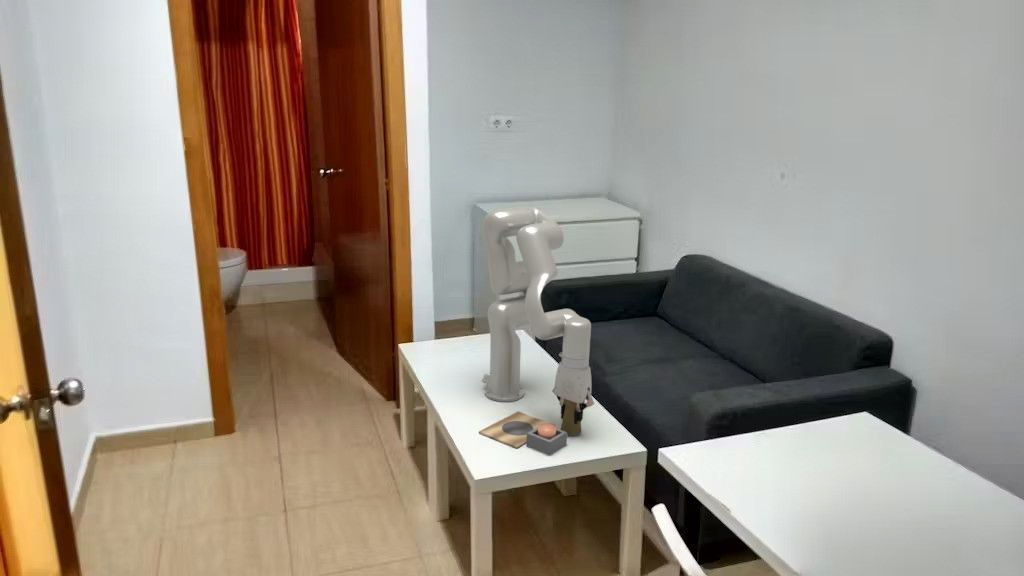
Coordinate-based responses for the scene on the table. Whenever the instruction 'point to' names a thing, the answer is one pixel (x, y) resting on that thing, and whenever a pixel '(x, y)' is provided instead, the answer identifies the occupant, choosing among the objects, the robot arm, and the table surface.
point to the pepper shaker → (570, 419)
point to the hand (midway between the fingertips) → (571, 419)
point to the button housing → (546, 441)
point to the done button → (547, 431)
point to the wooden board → (513, 429)
